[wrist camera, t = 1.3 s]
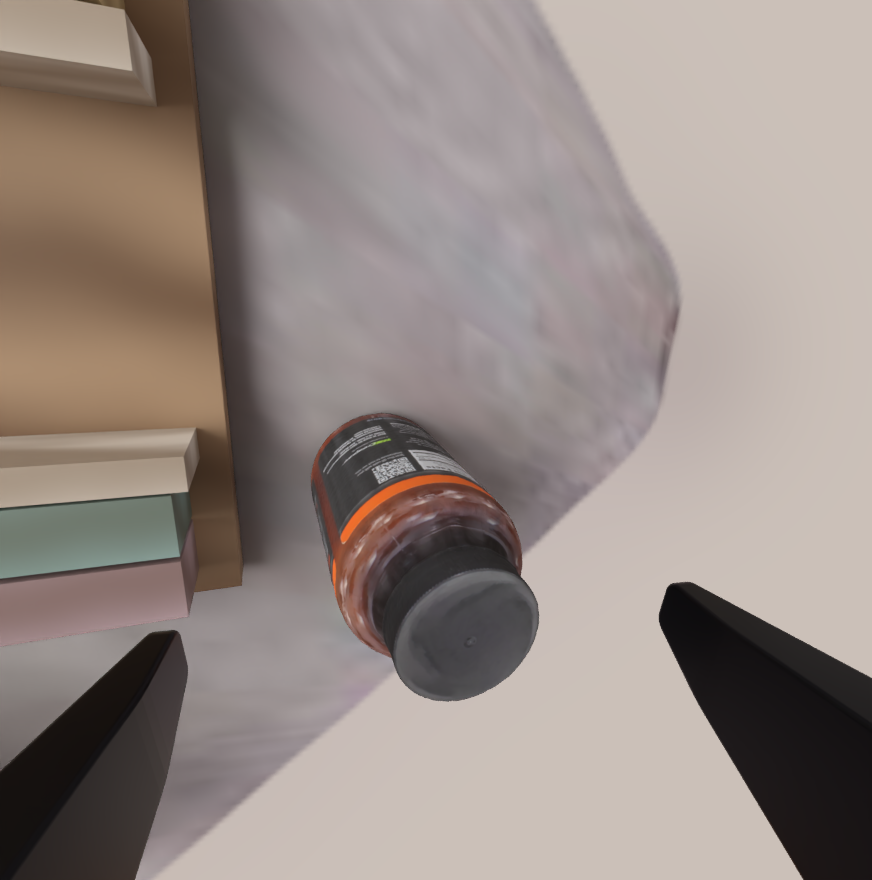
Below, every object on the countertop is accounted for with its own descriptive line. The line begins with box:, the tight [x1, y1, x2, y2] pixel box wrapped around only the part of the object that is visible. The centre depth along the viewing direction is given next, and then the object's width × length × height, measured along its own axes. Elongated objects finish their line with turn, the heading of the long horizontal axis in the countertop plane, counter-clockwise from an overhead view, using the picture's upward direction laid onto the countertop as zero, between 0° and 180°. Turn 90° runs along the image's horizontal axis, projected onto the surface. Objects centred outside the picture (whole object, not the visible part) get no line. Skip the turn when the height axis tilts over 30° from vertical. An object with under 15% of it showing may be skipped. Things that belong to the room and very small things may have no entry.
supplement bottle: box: [311, 413, 539, 701], centre depth 17 cm, size 6×6×11 cm
